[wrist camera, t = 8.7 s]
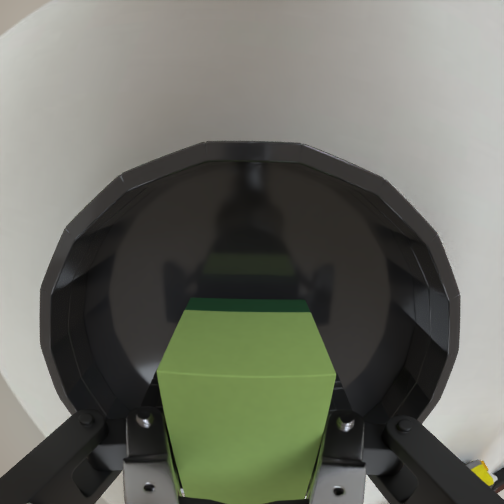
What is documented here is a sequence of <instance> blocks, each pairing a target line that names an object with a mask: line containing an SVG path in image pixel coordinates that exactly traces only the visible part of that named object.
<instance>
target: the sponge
mask: <svg viewBox="0 0 504 504" xmlns="http://www.w3.org/2000/svg"><path fill="white" fill-rule="evenodd" d="M156 372H157V378H158V384H159V389H160V395H161V400H162V405H163V410H164V415H165V419H166V424H167V429H168V433H169V437H170V442H171V446H172V450H173V454H174V458H175V462H176V466H177V469H178V473H179V477H180V480H181V484H182V487H183V491H184V494H185V497H190V498H199V499H211V500H214V501H218V502H222V503H226V504H265V503H269V502H274V501H281V500H298V499H304V498H305V495H306V492H307V489H308V485H309V482H310V479H311V476H312V472H313V469H314V465H315V462H316V458H317V455H318V451H319V447H320V444H321V440H322V436H323V432H324V428H325V424H326V420H327V415H328V411H329V407H330V402H331V398H332V393H333V389H334V384H335V379H336V372H335V370H334V367H333V365H332V363H331V360H330V358H329V355H328V353H327V350H326V348H325V345H324V343H323V341H322V338H321V336H320V333H319V331H318V329H317V326H316V324H315V321H314V319H313V317H312V314H311V313H310V310H309V308H308V305H307V303H306V301H305V300H275V299H221V298H190V300H189V302H188V304H187V306H186V308H185V310H184V312H183V314H182V316H181V318H180V320H179V323H178V325H177V327H176V329H175V331H174V333H173V336H172V338H171V340H170V342H169V344H168V346H167V349H166V351H165V353H164V355H163V358H162V360H161V362H160V364H159V366H158V369H157V371H156Z"/></svg>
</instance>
